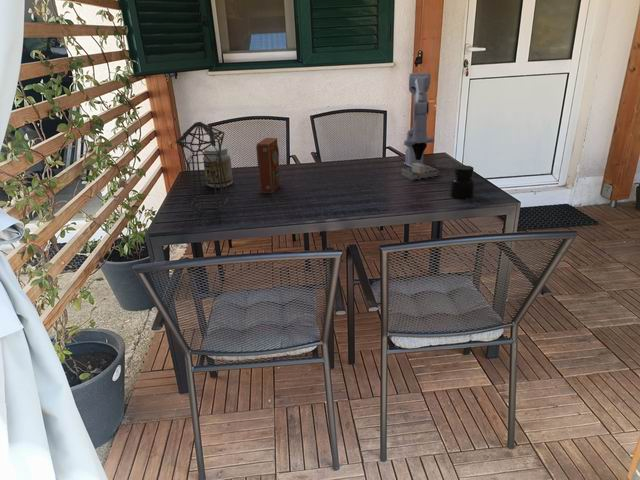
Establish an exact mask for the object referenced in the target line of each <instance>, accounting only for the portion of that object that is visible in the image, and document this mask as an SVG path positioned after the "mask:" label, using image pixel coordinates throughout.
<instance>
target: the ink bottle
mask: <svg viewBox="0 0 640 480" xmlns="http://www.w3.org/2000/svg"><path fill="white" fill-rule="evenodd" d="M454 171H455V172H454V177H453V178H452V180H451V185H450V196H451V198H453V199H457V198H460V199H459V200H467V199H466V198H470V199H472V198H473V197H474V194H475V193H474V192H475V183H476V182H475V179H473V175H474V167H473V166H471V165H462V164H461V165H457V166H455V170H454ZM471 197H472V198H471Z"/></svg>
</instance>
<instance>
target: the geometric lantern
mask: <svg viewBox="0 0 640 480" xmlns="http://www.w3.org/2000/svg"><path fill="white" fill-rule="evenodd" d="M193 130H195V131H194V132H193ZM213 130H214V131H213ZM197 131H198V133H197ZM215 131H216V132H215ZM204 132H205V133H204ZM207 135H208V136H209V141H208V140H207V141H206V140H204V136H207ZM189 136H191V137H192V138H191V140H190V141H189V142H188V141H187V138H188V137H189ZM197 136H198V137H197ZM201 137H202V139H201ZM224 137H225V132H224V131H222V130H220V129H217V128H214V127H212V126H210V125H208V124H205V123H204V122H202V121H197V122H194V123H193V124H192V125H191V126H190V127H188V129H187V130H186V131H184V132H183V133H182V135H181V136H180V137H179V138H178V139H177V140H176V141H175V142H174V144H178V145H179V146H180V147H181V149H182V153H183V157H184V162H185V163H186V177H187V191H188V203H189V204H188V206H189V208H190V209H192V210H194V211H195V212H197V213H198V215H197V216H198V217H200V218H203V217H204V218H205V217H206V218H207V217H219V216H221V215H222V211H223V208H224V207H225V206H226V204H227V202H228V201H229V191H228V186H227V185H226V180H225V175H224V170H223V164H222V159H221V146H223V141H224ZM194 139H196V140H198V143H193V142H194ZM216 143H218V146H219V149H220V151H219V150H218V151H217V149H216V148H215V146H216V145H214V144H216ZM188 145H189V146H190V147H189V146H188ZM202 145H206V146H205V147H202V148H201V146H202ZM192 146H198V148H197V149H196V150H194V149H193V147H192ZM211 146H214V148H215V149H216V151H217V152H218V154H205V153H204V149H206V148H208V147H211ZM184 148H186V149H188V150H189V151H190V152H191V153H192V155H191V154H190V156H189V157H188V158H187V157H186V154H185V149H184ZM199 152H201V154H198V153H199ZM206 155H217V157H218V158H216V161H213V162H211V161H210V160H209V158H208V157H207V156H206ZM199 156H205V157H206V158H207V159H208V160H209V162H202V161H200V162H199ZM195 157H196V162H195V159H194V158H195ZM217 160H218V161H219V168H220V176H221V183H220V178H219V172H218V167H217ZM220 161H221V165H220ZM204 163H211V169H212V176H213V182H214V187H213V189H214V195H213V194H212V195H203V193H202V184H201V183H202V182H201V174H200V173H201V172H200V164H204ZM212 163H215V164H216V170H217V175H218V180H219V186H220V188H219V190H220V194H217V193H218V192H217V188H216V185H215V179H214V172H213V166H212ZM195 164H197V173H198V174H197V175H198V181H199V182H198V183H199V191H200V192H199V193H200V195H198V196H197V187H196V174H195V171H196V170H195ZM190 165H192V172H193V173H192V172H191V166H190ZM221 167H222V172H223V177H224V182H225V187H223V181H222V173H221ZM192 174H193V175H192ZM192 177H193V182H192ZM221 184H222V187H221ZM193 188H194V189H193ZM224 188H225V191H224ZM225 193H226V195H225ZM213 197H214V198H215V200H216V202H213V203H204V202H203V199H202V198H213ZM219 197H220V201H219V200H218V198H219ZM224 197H225V199H224ZM191 198H192V200H191ZM199 198H200V201H199V200H198V199H199ZM191 201H192V202H191ZM195 201H196V202H197V203H198V205H199V206H197V207H196V204H195ZM200 202H201V203H200ZM208 205H209V206H208ZM210 205H217V206H210ZM216 209H217V210H216ZM215 212H216V213H217V214H210V215H209V214H208V215H202V213H215Z"/></svg>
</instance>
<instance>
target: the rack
mask: <svg viewBox="0 0 640 480" xmlns="http://www.w3.org/2000/svg"><path fill="white" fill-rule="evenodd" d="M425 165H426V164H425ZM402 175H403V176H402ZM400 176H402V177H404V176H405V177H404V178H406V177H407V178H406V179H408V178H409V179H408V180H410V179H411V180H410V181H415V180H414V179H418V180H422V179H421V178H425V179H428V178H427V177H432V178H434V177H433V176H438V177H439V169H437V168H434V167H432V166H429V165H428V164H427V165H426V170H425V173H418V172H416V171H414V170H412V168H411V167H406V168H401V169H400Z"/></svg>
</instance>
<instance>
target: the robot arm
mask: <svg viewBox="0 0 640 480" xmlns="http://www.w3.org/2000/svg"><path fill="white" fill-rule="evenodd" d="M430 85H431V73H430V72H425V73H424V72H423V73H419V72H418V73H414V72H413V73H412V72H411V73H409V75H408V91H409V93H410V94H412V97H413V108H412V109H413V110H412V111H413V112H412V113H413V117H412V120H413V121H412V127H411V129H409V130H408V131H407V133H406V140H404V141H403V146H406V147H407V148H406V150H405V155H404V162H403V163H404V164H403V165H405V164H406V165H405V166H408V167H409V168H412V163H420V164H422V165H424V166H426V164H425V163H424V152H425V150H426V148H427V147H428V144H429V143H432V144H433V143H435V138H434V137H428V131H427V126H428V125H427V124H428V115H429V112H430V103H429V101H428V92H429V90H430Z"/></svg>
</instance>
